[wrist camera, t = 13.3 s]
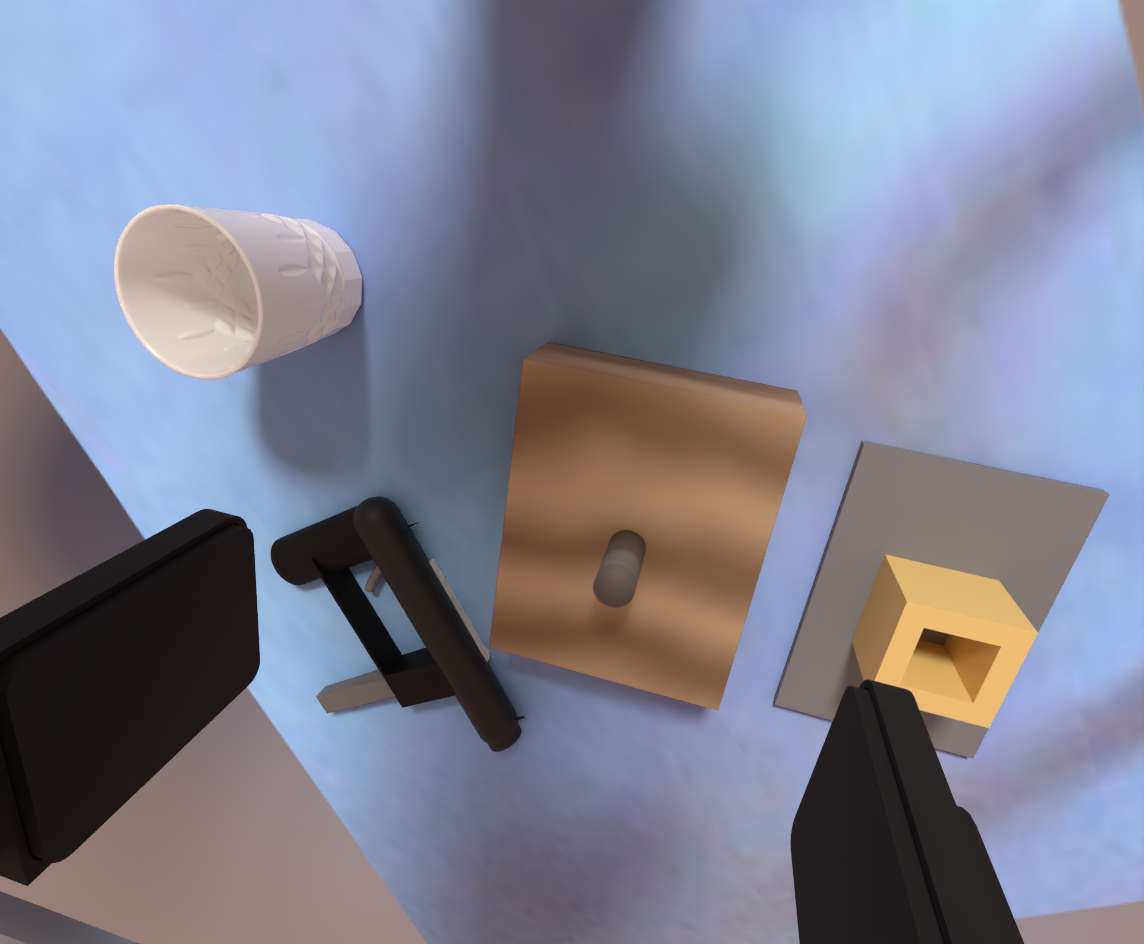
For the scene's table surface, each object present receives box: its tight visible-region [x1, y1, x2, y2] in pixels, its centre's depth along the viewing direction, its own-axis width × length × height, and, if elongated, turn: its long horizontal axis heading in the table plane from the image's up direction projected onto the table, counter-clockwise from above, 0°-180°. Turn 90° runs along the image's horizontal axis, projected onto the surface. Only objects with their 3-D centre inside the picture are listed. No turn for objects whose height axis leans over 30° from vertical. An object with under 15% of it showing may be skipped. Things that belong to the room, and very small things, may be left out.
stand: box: [489, 342, 807, 710], centre depth 35 cm, size 18×14×10 cm
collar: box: [852, 555, 1038, 728], centre depth 35 cm, size 6×6×5 cm
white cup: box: [114, 204, 362, 380], centre depth 35 cm, size 8×8×10 cm
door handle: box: [271, 497, 525, 752], centre depth 47 cm, size 3×20×16 cm
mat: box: [774, 441, 1109, 758], centre depth 37 cm, size 18×12×1 cm, turn 172°
